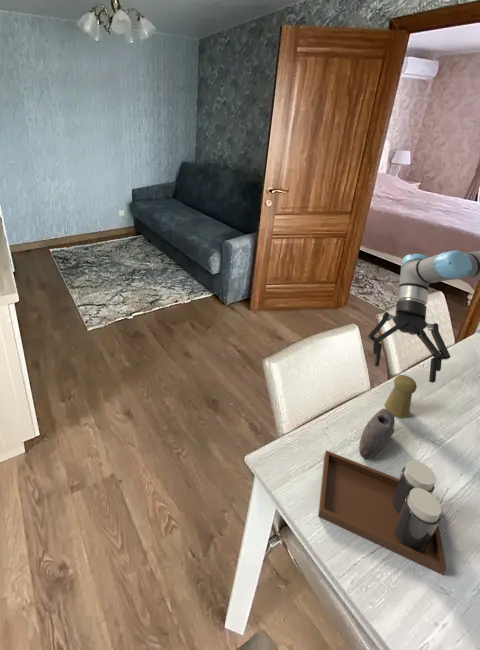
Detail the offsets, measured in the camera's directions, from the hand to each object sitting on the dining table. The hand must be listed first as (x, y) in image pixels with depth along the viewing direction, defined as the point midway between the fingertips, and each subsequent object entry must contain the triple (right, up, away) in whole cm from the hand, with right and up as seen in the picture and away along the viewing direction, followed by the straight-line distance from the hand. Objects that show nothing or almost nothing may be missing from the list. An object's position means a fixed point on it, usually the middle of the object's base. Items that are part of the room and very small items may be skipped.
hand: (403, 373), depth 98 cm
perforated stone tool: (-15, -14, -10) cm, 23 cm away
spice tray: (-22, -20, -24) cm, 38 cm away
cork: (-2, -10, 0) cm, 11 cm away
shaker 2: (-18, -22, -29) cm, 41 cm away
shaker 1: (-15, -19, -24) cm, 35 cm away
